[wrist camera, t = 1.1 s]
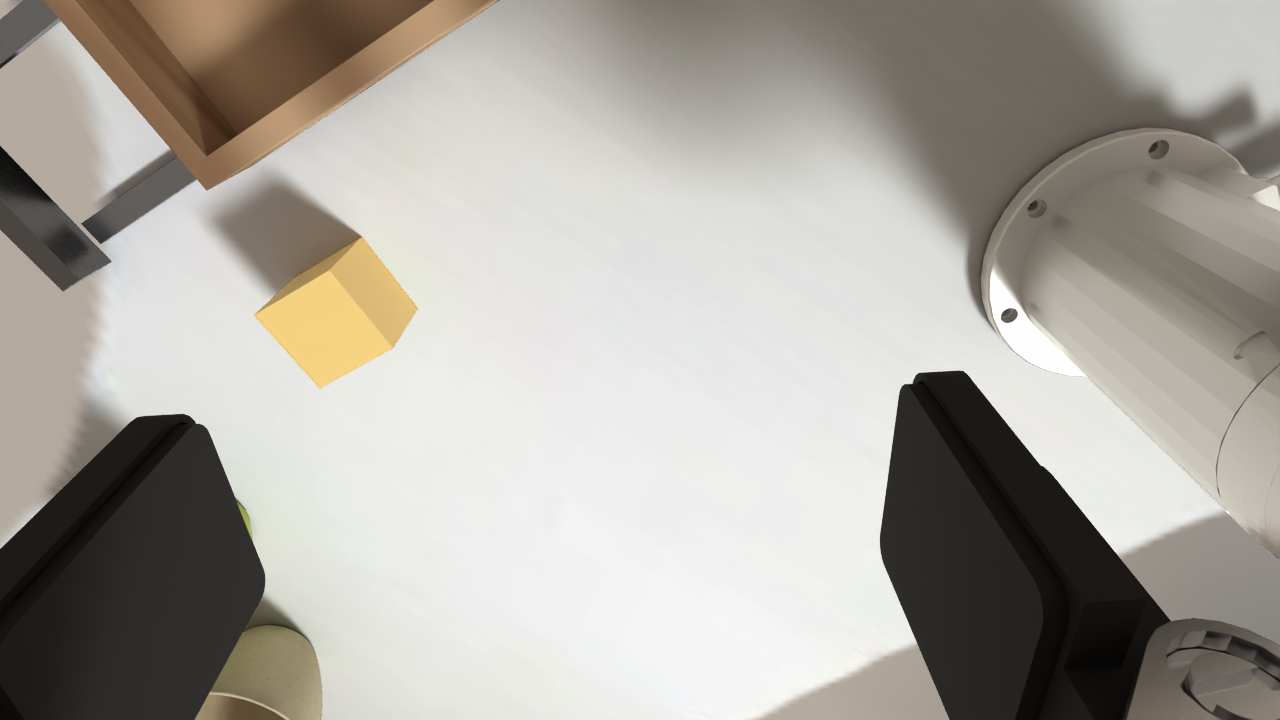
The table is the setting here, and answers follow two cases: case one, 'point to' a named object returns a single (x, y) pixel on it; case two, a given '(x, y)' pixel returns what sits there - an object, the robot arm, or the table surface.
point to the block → (339, 313)
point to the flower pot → (267, 679)
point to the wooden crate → (251, 64)
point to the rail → (32, 216)
